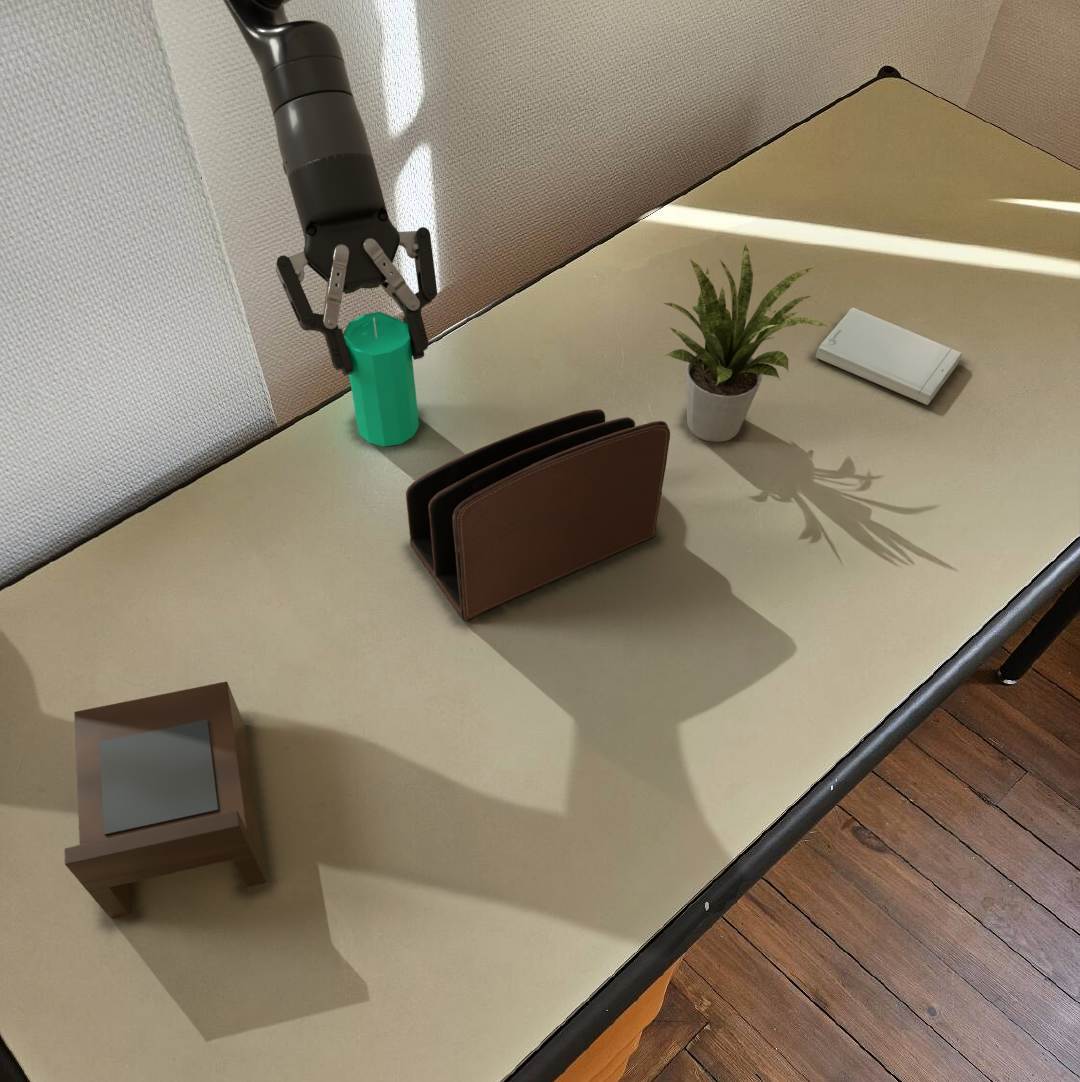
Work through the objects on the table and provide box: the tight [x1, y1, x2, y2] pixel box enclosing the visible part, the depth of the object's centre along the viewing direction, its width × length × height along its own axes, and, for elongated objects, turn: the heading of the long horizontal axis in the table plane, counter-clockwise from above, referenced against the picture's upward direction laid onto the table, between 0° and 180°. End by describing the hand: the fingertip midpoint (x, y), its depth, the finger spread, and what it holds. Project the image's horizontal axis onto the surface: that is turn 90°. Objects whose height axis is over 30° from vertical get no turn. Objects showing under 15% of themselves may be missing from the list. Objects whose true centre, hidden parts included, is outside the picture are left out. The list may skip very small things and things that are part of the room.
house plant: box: [663, 243, 829, 443], centre depth 97 cm, size 14×14×16 cm
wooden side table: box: [63, 680, 267, 919], centre depth 75 cm, size 14×11×9 cm
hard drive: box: [815, 307, 963, 406], centre depth 108 cm, size 2×8×12 cm
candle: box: [343, 311, 420, 447], centre depth 97 cm, size 6×6×12 cm
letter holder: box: [405, 408, 671, 621], centre depth 89 cm, size 10×20×14 cm, turn 121°
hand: (384, 365), depth 95 cm, fingers closed on candle, 6 cm apart
